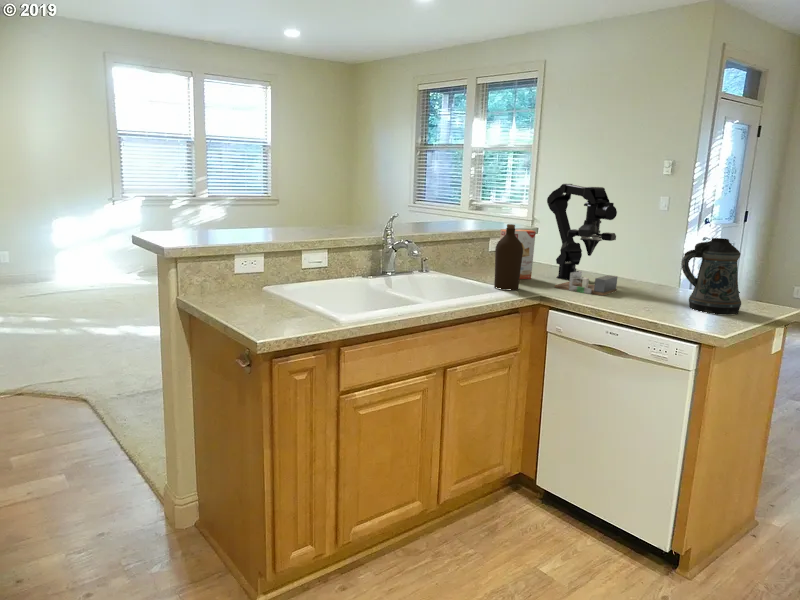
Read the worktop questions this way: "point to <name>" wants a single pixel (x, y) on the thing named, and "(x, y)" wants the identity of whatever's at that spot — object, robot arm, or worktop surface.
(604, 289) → the grey rectangular block
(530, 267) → the cracker box
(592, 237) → the robot arm
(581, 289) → the gauge base
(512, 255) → the olive oil
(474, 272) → the worktop surface
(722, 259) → the beer stein
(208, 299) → the worktop surface
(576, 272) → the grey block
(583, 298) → the worktop surface
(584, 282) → the telltale
